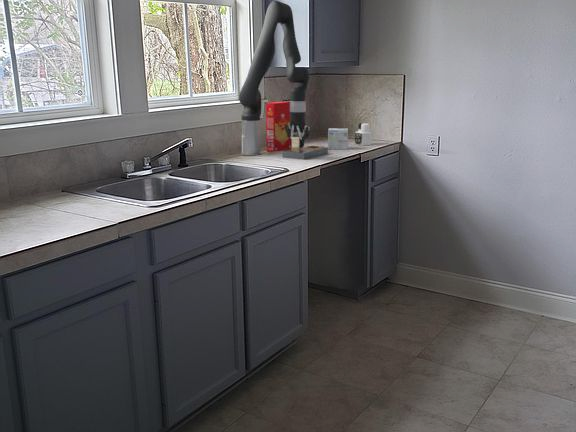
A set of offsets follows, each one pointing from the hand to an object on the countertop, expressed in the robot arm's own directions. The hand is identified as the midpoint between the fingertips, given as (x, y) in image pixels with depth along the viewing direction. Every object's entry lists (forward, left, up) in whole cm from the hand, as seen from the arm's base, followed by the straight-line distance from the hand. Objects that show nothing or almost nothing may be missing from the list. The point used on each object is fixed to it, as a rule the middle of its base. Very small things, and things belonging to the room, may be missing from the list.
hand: (297, 146), depth 281 cm
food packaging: (-4, +30, -6) cm, 31 cm away
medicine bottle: (+46, +42, -6) cm, 63 cm away
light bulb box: (+28, +30, -6) cm, 42 cm away
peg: (0, 0, -4) cm, 4 cm away
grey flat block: (+5, +5, -6) cm, 9 cm away
